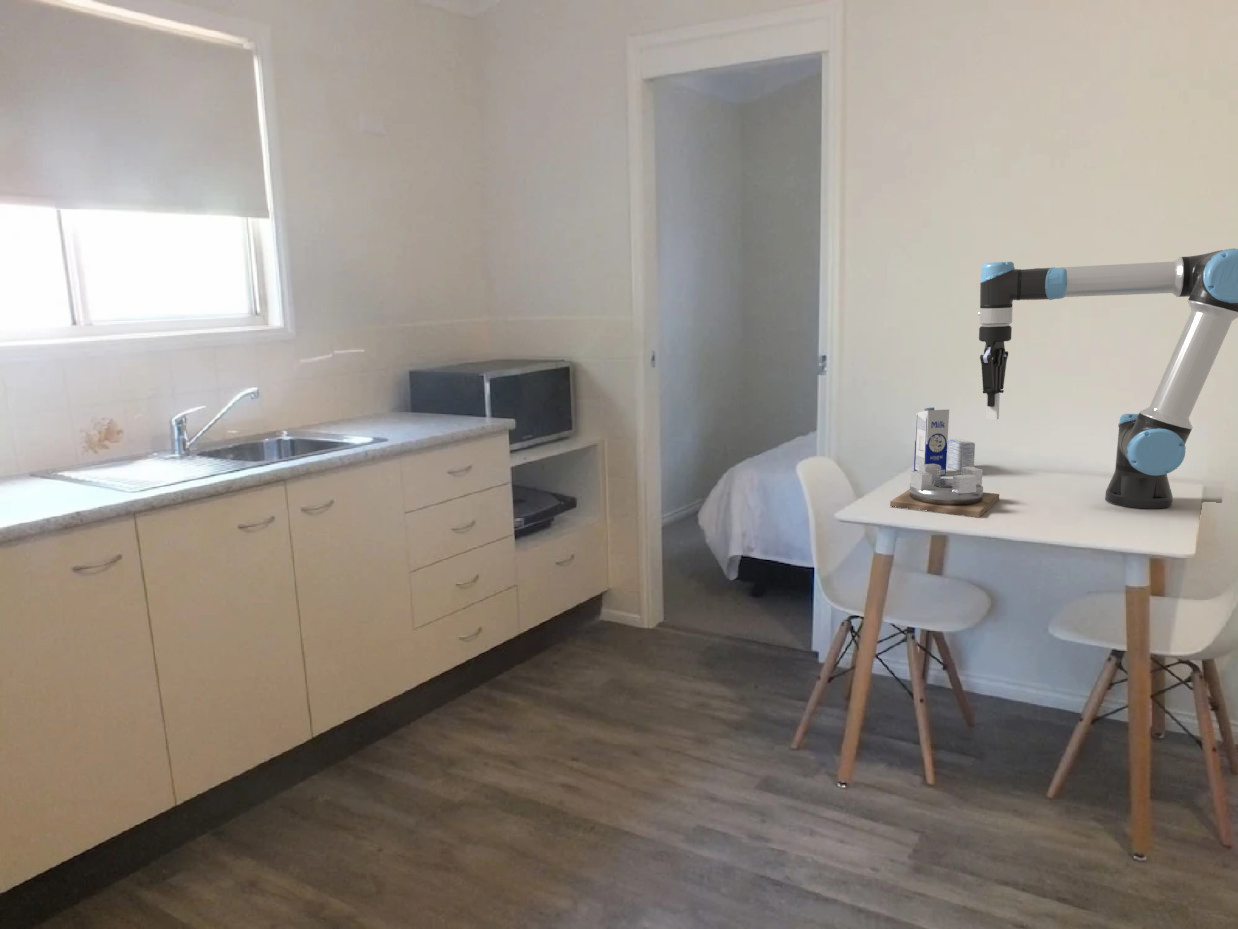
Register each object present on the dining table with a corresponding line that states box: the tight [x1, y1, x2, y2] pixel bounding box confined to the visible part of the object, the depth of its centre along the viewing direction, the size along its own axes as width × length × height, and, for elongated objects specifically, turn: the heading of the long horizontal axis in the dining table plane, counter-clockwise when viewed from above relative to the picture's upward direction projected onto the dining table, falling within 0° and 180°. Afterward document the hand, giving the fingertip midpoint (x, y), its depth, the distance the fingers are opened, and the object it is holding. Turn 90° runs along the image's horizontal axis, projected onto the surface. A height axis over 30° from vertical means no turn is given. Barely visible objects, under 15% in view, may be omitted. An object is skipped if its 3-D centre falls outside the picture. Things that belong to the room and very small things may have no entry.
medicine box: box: [946, 438, 976, 472], centre depth 284 cm, size 8×4×9 cm, turn 14°
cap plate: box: [889, 488, 1000, 518], centre depth 243 cm, size 22×22×2 cm
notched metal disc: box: [909, 464, 984, 505], centre depth 242 cm, size 18×18×7 cm
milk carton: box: [913, 407, 950, 477], centre depth 277 cm, size 7×7×20 cm
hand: (992, 418), depth 236 cm, fingers closed
